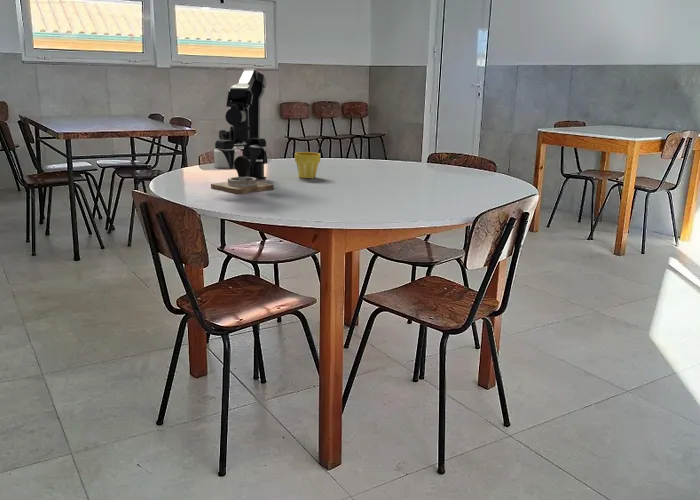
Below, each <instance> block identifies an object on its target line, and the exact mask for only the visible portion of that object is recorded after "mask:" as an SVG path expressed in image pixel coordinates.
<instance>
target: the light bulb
mask: <svg viewBox="0 0 700 500" xmlns="http://www.w3.org/2000/svg"><path fill="white" fill-rule="evenodd" d="M249 168H250V161H249V159H248V158H247V157H245V156H243V155H238V157H237V158H236V159H235V160H234V170H235V171H236V173H237V177H239V181H246V174H247V171H248V169H249Z"/></svg>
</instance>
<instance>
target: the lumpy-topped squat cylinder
mask: <svg viewBox="0 0 700 500" xmlns="http://www.w3.org/2000/svg"><path fill="white" fill-rule="evenodd" d="M232 150H235V153H234V160H235V159H236V158H237V157H239V152H238V151H239V150H238V147H237V146H236V147H234V148H233V149H232ZM213 157H214V158H213V161H214V162H213V163H214V166H213V167H214V168H218V169H219V168H222V169H223V168H224V169H225V168H228V169H230V167H229V165H228V162H227V159H226V157H225V155H224V154H223V152H222V151H219V150H218V149H217V148H215V147H214V150H213ZM233 168H234V164H233ZM234 169H235V168H234Z"/></svg>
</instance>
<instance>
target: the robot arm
mask: <svg viewBox="0 0 700 500" xmlns="http://www.w3.org/2000/svg"><path fill="white" fill-rule="evenodd" d="M241 74H242V75H241V76H240V78H239V81H238V82H237V83H236V84H233V85H232V86H231V87H230V88H229V90H228V92H227V98H226V107H227V108H230V109H228V110H227V111H226V112H225V121H226V122H227V124H228V125H230V127H229V130H228V131H227V130H225V129H220V130H219V131H218V137H219V139H217V140H216V141H215V143H214V149H215V148H217V149H218V150H219V151H222V152H223V154H224V155H225V157H226V159H227V162H228V165H229V167H230V168H229V169H230V170H233V164H234V153H235V150H232V149H233V148H234V147H236V148H237V147H243V148H242V156H245V157H247V158H248V159H249V161H250V168H249V169H248V171H247V174H246V177H253V178H256V179H257V180H263V179H264V180H265V179H267V176H265V164H268V155H267V154H268V153H267V151H266V149H265V147H267V141H266V139H265V138H264V137H263V138H262V137H261V98H262V97H263V95H264V94H265V89H266V87H267V79H266V77H265V75H264V74H262V73H261V72H259V71H258V69H255V68H243V69H242V73H241Z"/></svg>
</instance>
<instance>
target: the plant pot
mask: <svg viewBox="0 0 700 500" xmlns="http://www.w3.org/2000/svg"><path fill="white" fill-rule="evenodd" d="M294 162H295V163H296V167H297V174H298V177H299V178H300V177H301V178H300V179H304V178H312V179H315V178H316V176H317V171H318V166H319V163H321V153H319V152H311V151H300V152H299V151H298V152H295V153H294ZM314 177H315V178H314Z"/></svg>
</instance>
